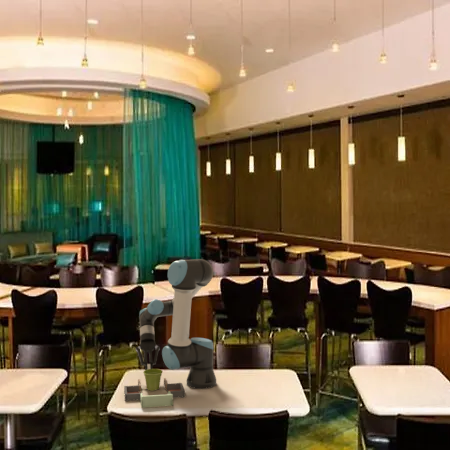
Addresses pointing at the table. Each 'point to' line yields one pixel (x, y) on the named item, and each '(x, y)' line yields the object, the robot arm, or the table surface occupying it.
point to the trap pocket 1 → (132, 393)
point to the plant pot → (152, 378)
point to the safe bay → (156, 400)
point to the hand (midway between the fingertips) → (149, 377)
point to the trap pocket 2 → (176, 390)
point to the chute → (164, 384)
